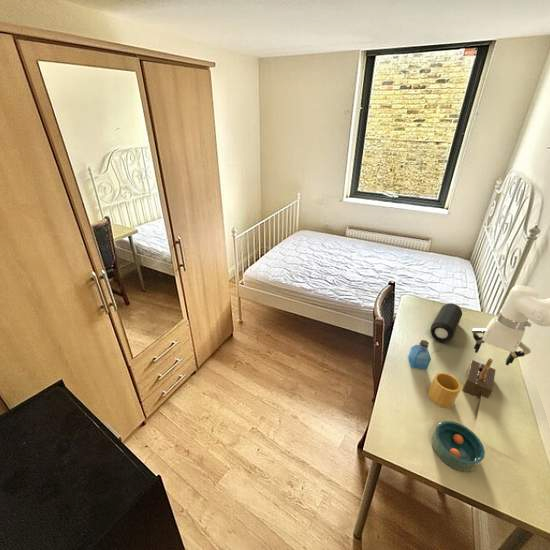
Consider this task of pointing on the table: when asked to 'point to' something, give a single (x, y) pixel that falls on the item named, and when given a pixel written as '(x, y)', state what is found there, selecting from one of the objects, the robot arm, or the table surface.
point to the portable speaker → (446, 322)
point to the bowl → (458, 446)
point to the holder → (478, 386)
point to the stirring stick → (485, 369)
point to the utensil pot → (444, 390)
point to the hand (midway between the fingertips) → (491, 356)
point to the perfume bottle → (420, 355)
